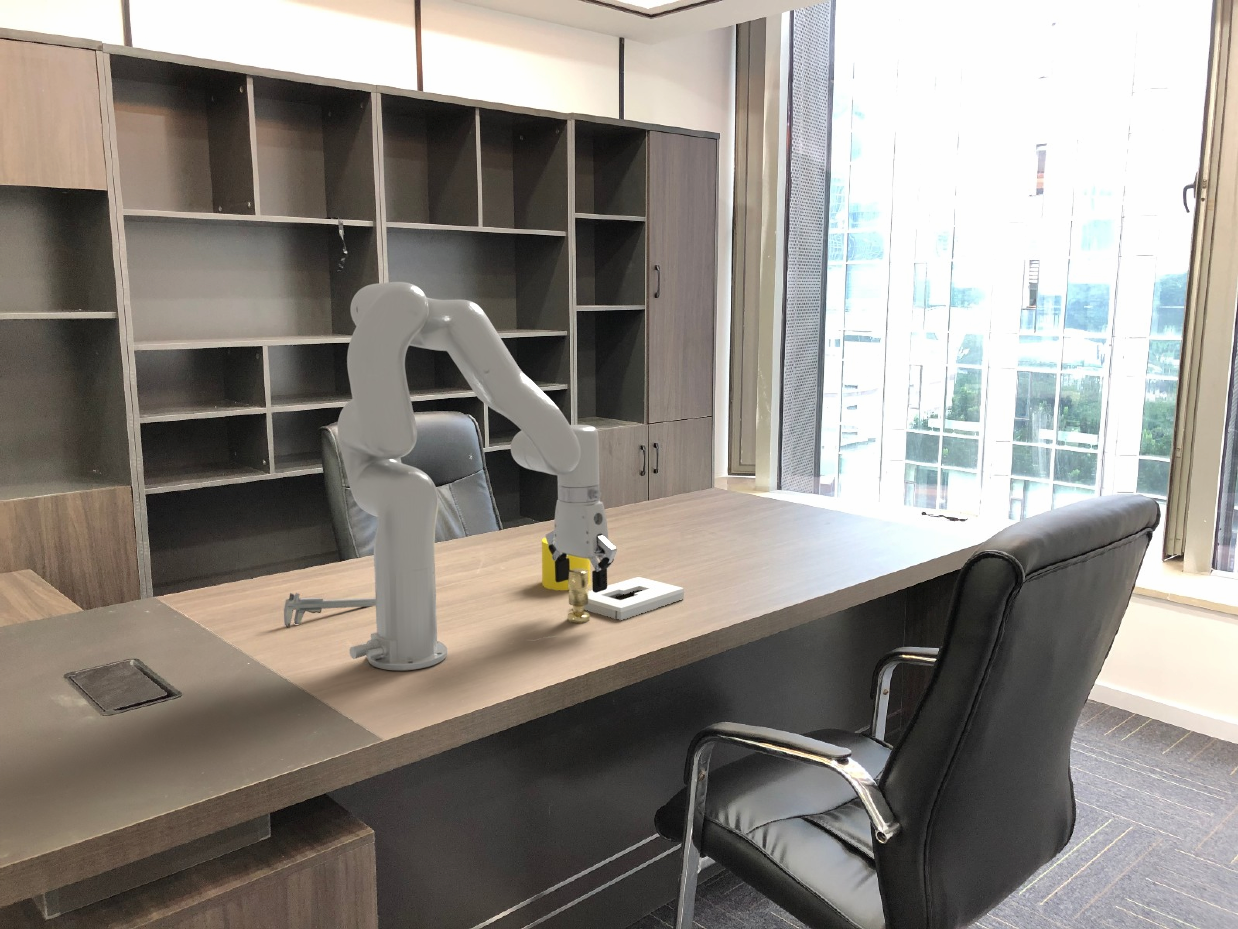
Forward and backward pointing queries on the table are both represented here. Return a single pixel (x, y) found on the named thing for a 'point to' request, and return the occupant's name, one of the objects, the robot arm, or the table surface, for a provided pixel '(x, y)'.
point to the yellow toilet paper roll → (549, 568)
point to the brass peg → (578, 595)
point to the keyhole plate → (632, 598)
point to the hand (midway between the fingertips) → (581, 585)
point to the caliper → (318, 606)
